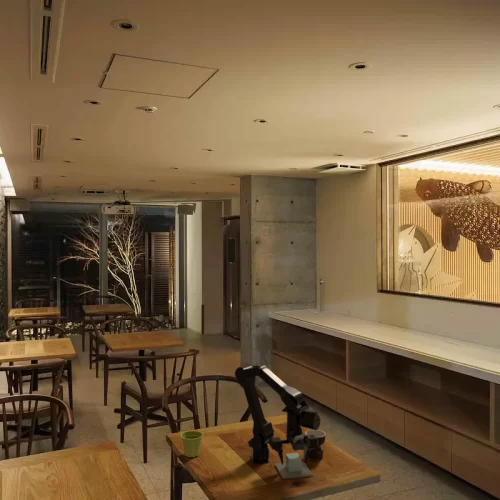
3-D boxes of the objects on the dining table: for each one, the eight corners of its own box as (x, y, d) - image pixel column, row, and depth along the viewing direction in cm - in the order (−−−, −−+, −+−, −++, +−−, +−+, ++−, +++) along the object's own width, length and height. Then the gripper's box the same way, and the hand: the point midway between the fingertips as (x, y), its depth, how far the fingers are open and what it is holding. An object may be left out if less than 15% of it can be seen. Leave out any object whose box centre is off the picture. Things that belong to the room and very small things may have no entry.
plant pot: (197, 461, 211) (197, 440, 211) (176, 457, 214) (176, 437, 214) (206, 452, 220) (206, 432, 220) (186, 449, 223) (186, 429, 223)
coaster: (282, 478, 196) (282, 476, 196) (274, 465, 208) (274, 463, 208) (312, 476, 199) (312, 474, 199) (303, 463, 210) (303, 461, 210)
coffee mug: (312, 463, 210) (312, 438, 210) (300, 455, 218) (300, 431, 218) (335, 457, 216) (335, 434, 215) (323, 450, 223) (323, 427, 223)
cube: (289, 471, 200) (289, 459, 200) (285, 466, 205) (285, 453, 205) (301, 470, 201) (301, 458, 201) (297, 465, 206) (297, 453, 206)
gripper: (276, 433, 193) (275, 474, 193) (323, 430, 197) (322, 470, 197) (269, 423, 204) (268, 462, 204) (314, 420, 208) (313, 458, 208)
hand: (293, 463), depth 203 cm, fingers open, 9 cm apart
